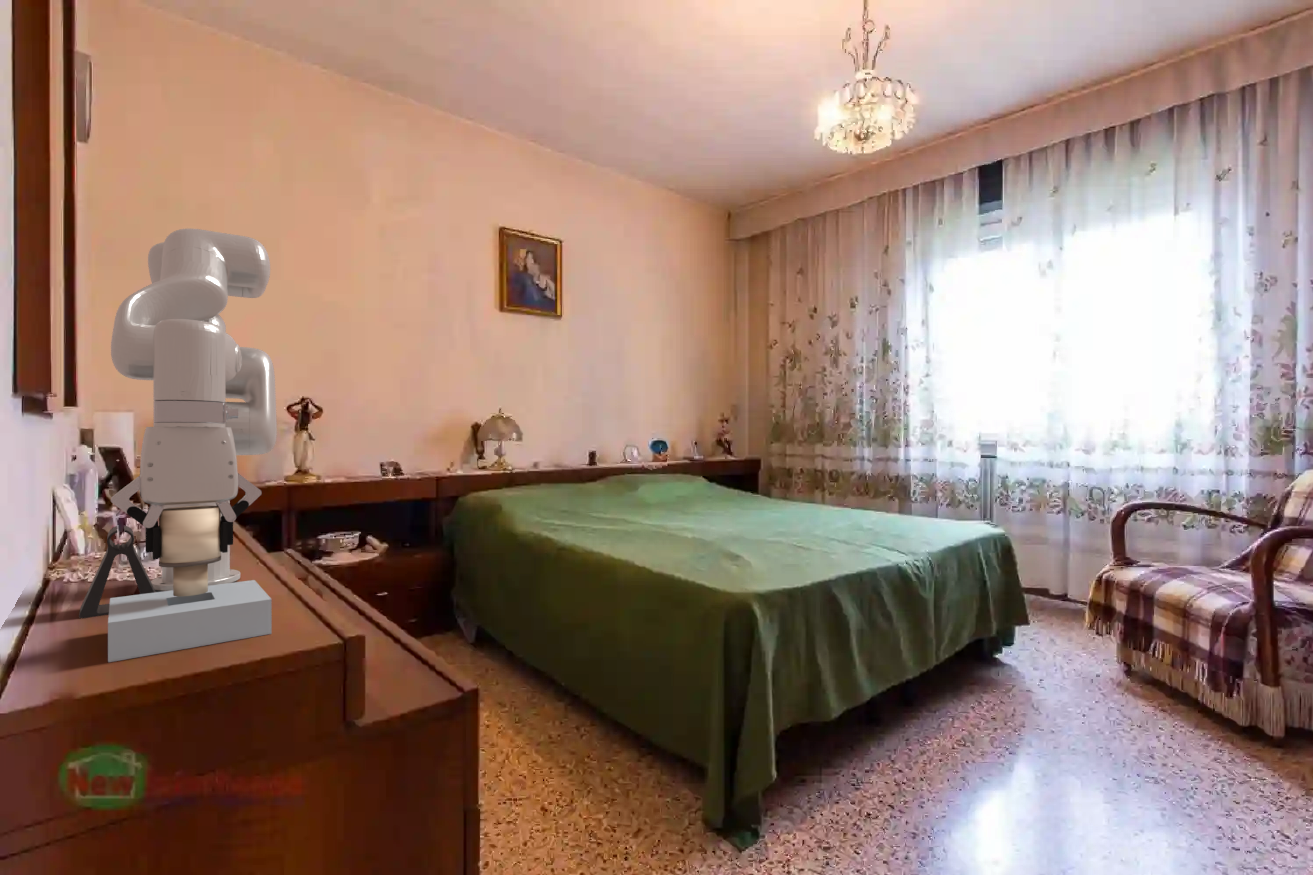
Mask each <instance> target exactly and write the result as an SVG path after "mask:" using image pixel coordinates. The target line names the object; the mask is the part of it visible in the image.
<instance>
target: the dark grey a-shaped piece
mask: <svg viewBox="0 0 1313 875" xmlns="http://www.w3.org/2000/svg"><path fill="white" fill-rule="evenodd" d="M123 532H124V533H126V534H128V535H129V536H130V537H129V539H128V540H127V541H125V543H121V544H120V543H117V544H116V542H114V541H113V540H112V537H113V535H115V534H117V533H118V526H117V525H116V526H113V527H112V528H111V529H110V530H109V531H108V533H107V539H106V544H107V548H106V551H105V553H104V555H103V557H102V560H101V561H100V564H99V566H98V568H97V570H96V573H95V575H94V576H93V580H92V581H91V584H90V586H89V588H88V590H87V592H86V594H85V597H84V599H83V601H82V604H81V605H80V609H79V613H78V618H79V619H81V618H82V619H88V618H96V617H101V616H102V617H103V616H109V605H110V603H105V604H104V603H102V604H100V602H101V600H102V596H103V593H104V591H105V588H106V584H107V581H108V578H109V575H110V572H111V569H112V566H113V563H114V561H115V558H116V557H117V556H119V555H125V556H126V557H127V560H128V563H129V566H130V568H131V571H132V575H133V578H134V580H135V583H136V585H137V588H138V591H139V594H147V593H155V592H157V590H155V589H154V587H153V585H152V583H151V581H152V580H151V579H150V577H149V575H148V573H147V571H146V570H145V567H144V564H143V562H142V561H141V559H140V557H139V554H138V553H137V551H136V548H135V547H134V543H135V537H134V532H133V529H132V528H131V527H129V526H127V525H124V526H123Z"/></svg>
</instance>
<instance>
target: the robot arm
mask: <svg viewBox="0 0 1313 875" xmlns="http://www.w3.org/2000/svg"><path fill="white" fill-rule="evenodd" d="M147 264H148V265H147V266H148V273H149V276H150V281H151V283H150V284H149V285H146V286H144V287H143V288H140V289H139V290H136V291H135V292H133V293H131V294H130V295H128V296H127V297H126V298H124V300H122V302H121V303H120V305H119V306H118V309H117V310H116V312H115V313H116V314H115V316H114V322H113V327H112V333H111V334H112V335H111V340H110V355H111V361H112V363H113V366H114V368H115V369H116V370H117V372H118V373H119V374H120V375H122V376H123V377H126V378H128V379H132V380H138V381H141V380H142V381H153V383H152V384H153V385H152V386H153V390H152V391H153V393H152V395H153V423H152V424H153V426H146V427H145V430H144V433H143V439H142V445H141V452H140V465H139V476H137V477H136V478H135V479H133V480H132V481H130V483H128V484H126V486H124V487H123V488H122V489H120V490H119V491H118V492H116V493H115V494H114V495H113V496H111V497H110V502H111V503H112V504H113V505H114V506H116V507H117V508H118V509H120V510H121V511H122V512H124V513H125V514H127V515H128V516H129V517H130V518H132V519H133V520H135V521H136V522H138V523H139V524H140V525H141V526H143V527H144V528H145V553H147V554H148V553H149V554H150V553H152V560H159V558H160V527H159V516H160V514H161V512H162V510H163V509H165V508H174V507H186V506H218V507H219V508H220V510H221V523H220V552H221V560H220V561H218V562H214V563H210V564H208V586H210V585H218V584H226V583H234V582H238V580H240V578H241V572H240V570H237V569H231V567H230V566H231V564H230V563H231V561H230V560H231V558H230V557H231V552H230V551H231V546H232V545H234V522H235V521H236V519H237V518H238V517H240V515H241V514H243V513H244V512H245V511H246V510H247V509H248V508H249V506H251V505H252V504H253V503H255V501H256V500H258V498H259V497H260V496H262V490H261V489H260V488H258V487H257V486H256V485H255V484H253V483H252V482H250V481H249V480H248V479H247V478H245V477H244V476H242V475H241V474H240V473H239V472H238V459H237V456H256V455H257V456H259V455H264V454H268V453H270V452H271V451H273V449H274V447H275V446H276V444H277V437H278V435H277V434H278V429H277V427H278V424H277V400H276V399H277V398H276V397H277V396H276V376H275V368H274V363H273V360H272V358H271V356H270V355H269V354H268V353H267V352H266V351H264V350H263V349H259V348H255V347H247V346H240V345H239V344H238V343H237V342H236V341H235V339H234V338H233V337H232V336H231V335H230V334H228V333H227V324H226V322H225V321H224V319H223V318H222V317H221V315H220V314H221V313H223V311H224V309H225V308H226V307H227V305H228V302H229V300H228V299H229V297H236V298H237V297H238V298H245V299H257V298H260V297H261V296H263V295H264V293H265V292H266V289H267V286H268V283H269V280H270V276H271V262H270V256H269V253H268V251H267V249H266V247H265V246H264V244H262V242H260V241H259V240H257V239H255V238H253V237H249V236H245V235H239V234H231V233H226V232H220V231H213V230H207V229H201V228H200V229H199V228H181V229H177V230H174V231H172V232H171V233H170V234H168V235H167V236H166V238H165V239H164V241H163V242H159V243H156V244H155V245H153V246H151V248H150V249H149V250H148V256H147ZM226 399H235V400H236V399H239V400H243V401H226ZM239 488H240V489H242V490H243V491H244V492H245V495H243V497H242V498H240V499H239V500H238V501H237V502H236V503H235V504H234V505H231V504H230V503H231V502H230V501H231V500H233V499H235V498H236V497H237V496H238V493H239ZM138 491H139V495H140V498H141V500H142V501H143V502H144V503H145V504H148V505H149V507H148V509H147V511H144V510H143V509H141V508H140V507H138V506H137V505H136V504H134V503H133V502H132V501H131V500H130V498H131V497H132V496H133V495H134V494H136V493H137V492H138ZM150 581H151V583H152V585H153V587H154V589H155V591H157V592H163V591H171V590H173V567H161V575H160V576H158V577H155V578H153V579H152V580H150Z"/></svg>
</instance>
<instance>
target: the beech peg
mask: <svg viewBox="0 0 1313 875" xmlns="http://www.w3.org/2000/svg"><path fill="white" fill-rule="evenodd" d="M220 523H221V510H220V508H219V507H218V506H186V507H174V508H165V509H163V510H162V512H161V514H160V516H159V518H158V526H159V527H160V558H158V567H161V568H162V567H173V596H193V595H199V594H203V593H206V592H208V564H210V563H214V562H218V561H220V560H221V552H220Z"/></svg>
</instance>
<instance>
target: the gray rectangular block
mask: <svg viewBox="0 0 1313 875" xmlns="http://www.w3.org/2000/svg"><path fill="white" fill-rule="evenodd" d="M272 600H273V599H272V597H271V596H269V595H268V593H267V592H266V591H265V590H264V589H263V588H262V587H261V585H260V584H259V583H258V582H257V581H256V580H255V579H252V580H243V581H242V580H241V581H235V582H232V583H226V584H218V585H210V586H208V592H206V593H203V594H199V595H193V596H173V590H171V591H156V592H155V593H147V594H140V593H139V594H133V595H131V594H130V595H126V596H125V595H124V596H117V597H110V598H109V604H110V605H109V615H108V618H107V662H108V663H113V662H114V663H115V662H117V661H118V662H119V661H124V660H130V659H135V658H141V657H147V656H151V655H158V654H164V653H170V652H175V651H180V650H181V651H182V650H186V649H193V648H197V647H203V646H209V645H215V644H221V643H227V642H233V641H238V640H243V639H251V638H255V637H260V636H266V635H272V628H273V626H272V622H273V620H272V616H273V615H272V609H273V608H272V604H273V601H272Z"/></svg>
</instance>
